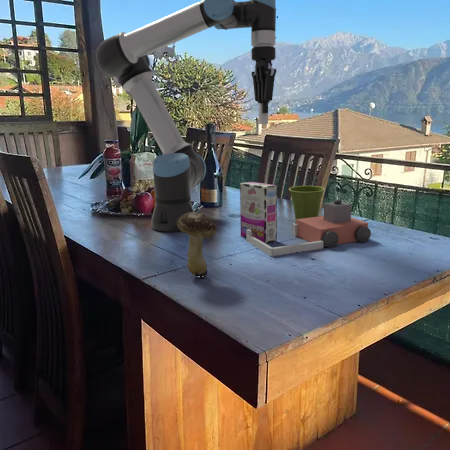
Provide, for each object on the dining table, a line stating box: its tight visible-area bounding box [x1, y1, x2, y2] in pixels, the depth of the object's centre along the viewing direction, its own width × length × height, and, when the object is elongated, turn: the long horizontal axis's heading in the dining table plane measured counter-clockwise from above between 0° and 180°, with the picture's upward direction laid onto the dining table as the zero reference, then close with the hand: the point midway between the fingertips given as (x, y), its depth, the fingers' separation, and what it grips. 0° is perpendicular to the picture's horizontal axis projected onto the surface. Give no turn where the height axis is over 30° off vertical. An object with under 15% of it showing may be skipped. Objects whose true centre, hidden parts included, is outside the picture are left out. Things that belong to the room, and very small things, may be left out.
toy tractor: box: [245, 199, 372, 257], centre depth 129 cm, size 32×17×11 cm, turn 112°
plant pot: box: [288, 185, 326, 221], centre depth 151 cm, size 12×12×11 cm
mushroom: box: [177, 211, 217, 277], centre depth 102 cm, size 9×9×15 cm
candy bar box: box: [239, 181, 278, 244], centre depth 132 cm, size 11×5×16 cm, turn 39°
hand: (263, 123), depth 147 cm, fingers closed
